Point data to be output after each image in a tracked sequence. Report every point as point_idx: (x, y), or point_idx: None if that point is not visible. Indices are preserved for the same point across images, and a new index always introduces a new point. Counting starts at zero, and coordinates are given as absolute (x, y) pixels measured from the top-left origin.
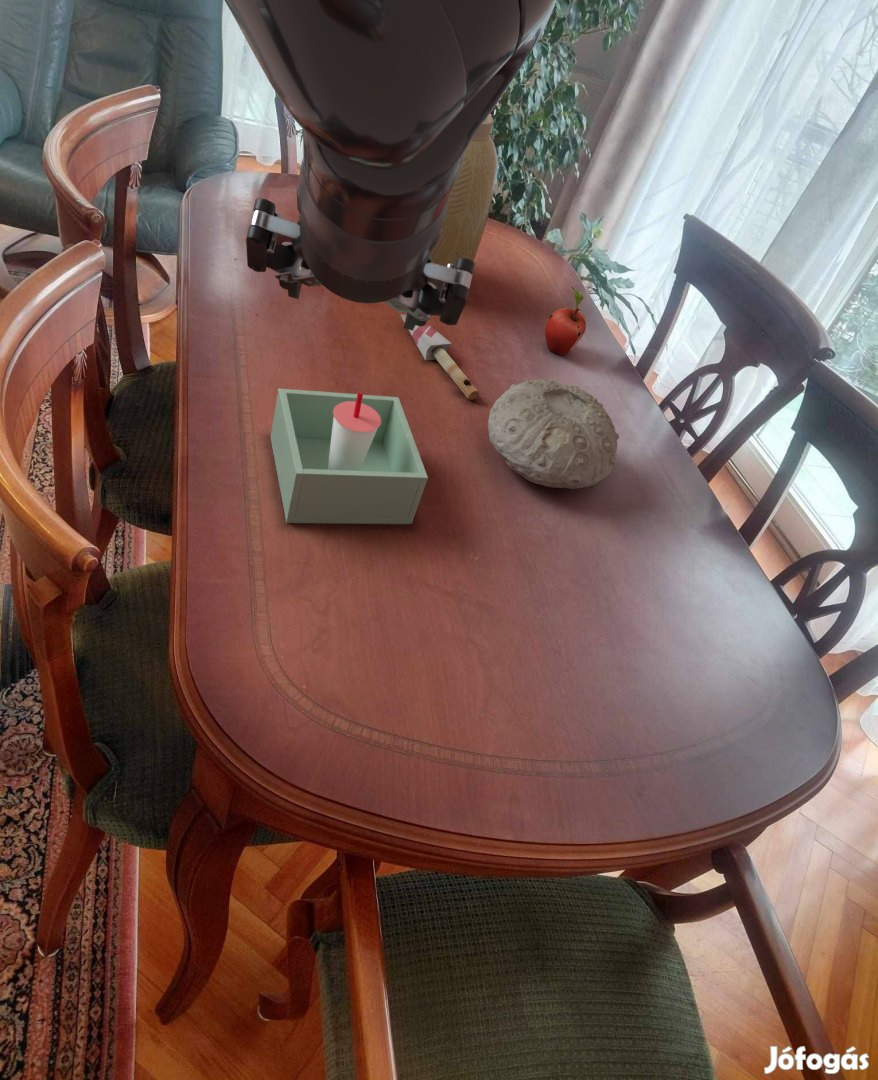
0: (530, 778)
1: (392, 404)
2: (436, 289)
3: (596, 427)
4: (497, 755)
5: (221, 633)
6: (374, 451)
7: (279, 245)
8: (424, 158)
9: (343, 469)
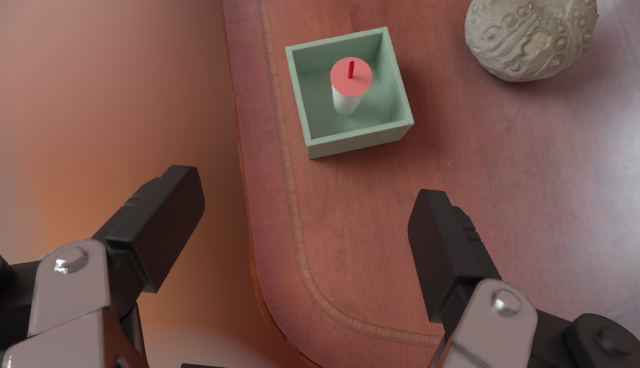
0: None
1: (381, 35)
2: (537, 356)
3: (580, 19)
4: None
5: (277, 264)
6: None
7: (20, 311)
8: None
9: (345, 111)
